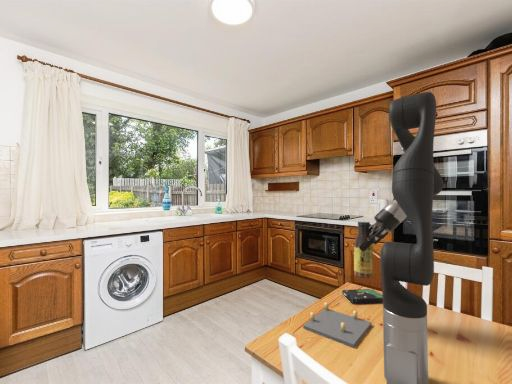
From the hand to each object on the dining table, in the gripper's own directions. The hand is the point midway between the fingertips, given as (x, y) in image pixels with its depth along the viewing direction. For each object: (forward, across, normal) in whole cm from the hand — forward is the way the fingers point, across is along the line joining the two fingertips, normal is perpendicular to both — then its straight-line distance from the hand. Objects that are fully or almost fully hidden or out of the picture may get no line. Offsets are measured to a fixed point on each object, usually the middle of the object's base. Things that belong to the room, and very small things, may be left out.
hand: (358, 247), depth 92 cm
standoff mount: (+25, +6, +12) cm, 28 cm away
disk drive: (+14, -19, +24) cm, 33 cm away
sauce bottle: (+6, 0, +9) cm, 11 cm away
